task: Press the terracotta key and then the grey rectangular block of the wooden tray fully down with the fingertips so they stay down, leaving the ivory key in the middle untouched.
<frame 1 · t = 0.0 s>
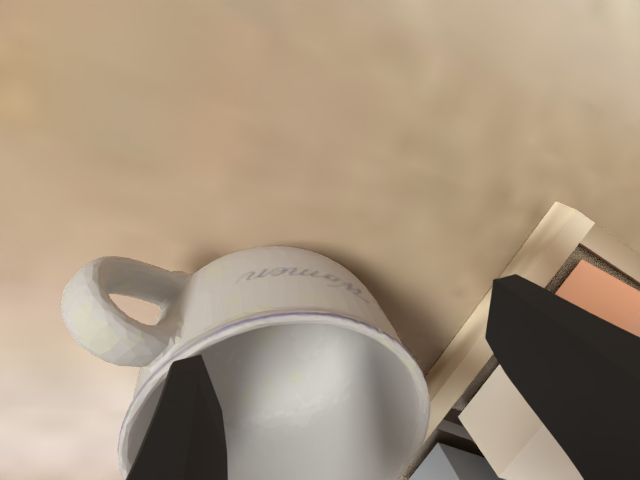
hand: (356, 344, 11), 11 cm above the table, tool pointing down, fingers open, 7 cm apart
teacup: (242, 300, 22), on the table
ivory key: (562, 436, 25), point 4 cm above the table, slide at 0.0 cm
wooden tray: (520, 390, 28), on the table
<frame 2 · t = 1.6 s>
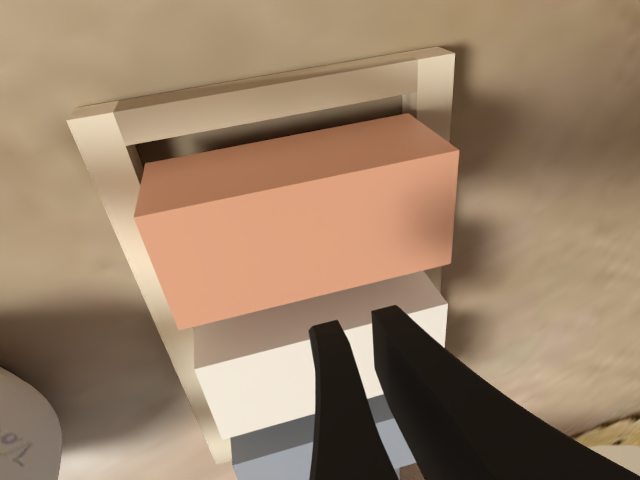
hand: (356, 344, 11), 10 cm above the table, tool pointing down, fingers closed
ivory key: (319, 339, 20), point 4 cm above the table, slide at 0.0 cm
terracotta key: (301, 214, 16), point 4 cm above the table, slide at 0.0 cm
grey rectangular block: (332, 425, 23), point 4 cm above the table, slide at 0.0 cm
wooden tray: (302, 287, 23), on the table
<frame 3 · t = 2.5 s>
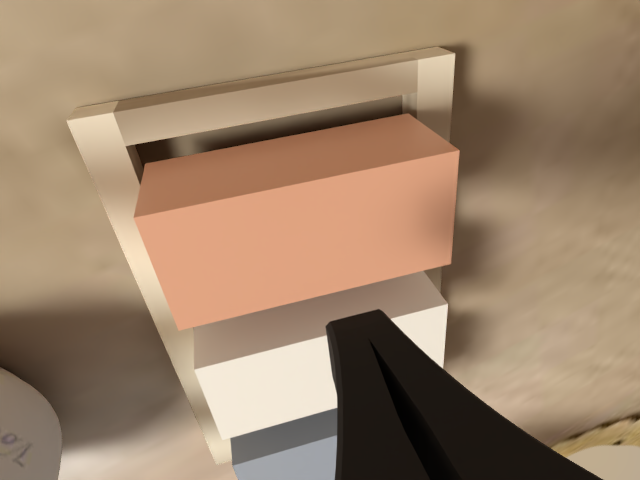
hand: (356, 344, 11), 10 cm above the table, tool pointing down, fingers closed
ivory key: (320, 339, 20), point 4 cm above the table, slide at 0.0 cm
terracotta key: (301, 214, 16), point 4 cm above the table, slide at 0.0 cm
grey rectangular block: (332, 425, 23), point 4 cm above the table, slide at 0.0 cm
wooden tray: (302, 287, 23), on the table
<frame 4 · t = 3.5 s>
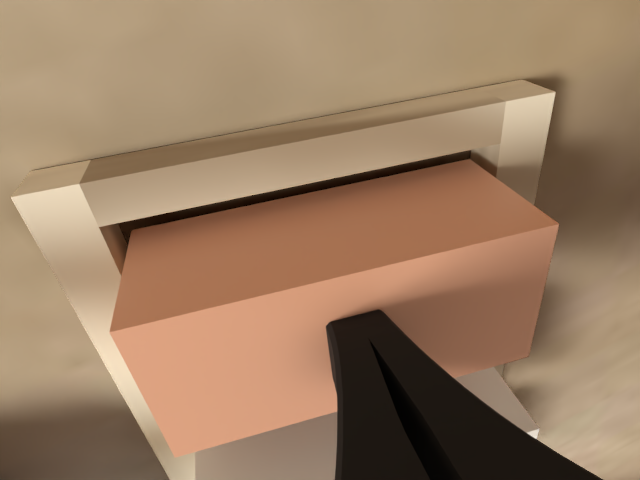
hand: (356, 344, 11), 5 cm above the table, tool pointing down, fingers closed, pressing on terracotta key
ivory key: (359, 457, 15), point 4 cm above the table, slide at 0.0 cm
terracotta key: (335, 295, 12), point 3 cm above the table, slide at 1.0 cm, touching gripper
wooden tray: (330, 371, 18), on the table
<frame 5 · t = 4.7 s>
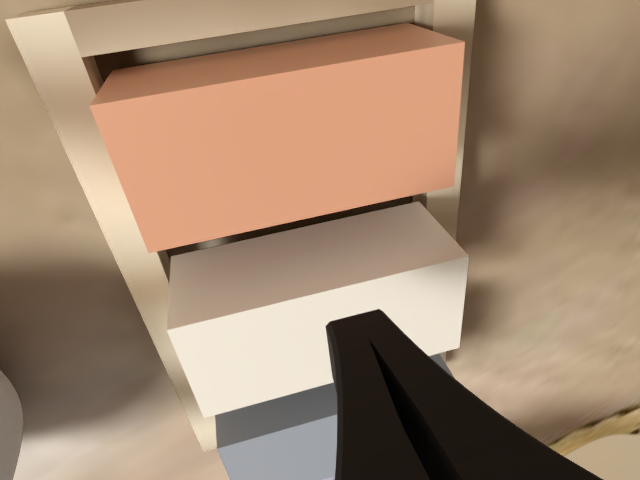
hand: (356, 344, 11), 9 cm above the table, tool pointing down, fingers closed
ivory key: (318, 302, 17), point 4 cm above the table, slide at 0.0 cm
terracotta key: (287, 129, 14), point 2 cm above the table, slide at 1.3 cm
grey rectangular block: (332, 405, 21), point 4 cm above the table, slide at 0.0 cm
wooden tray: (298, 248, 20), on the table
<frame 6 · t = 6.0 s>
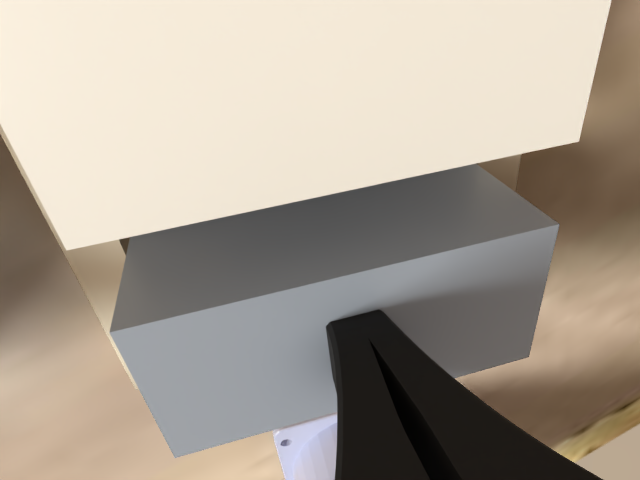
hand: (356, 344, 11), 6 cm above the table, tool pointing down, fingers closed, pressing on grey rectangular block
ivory key: (306, 46, 9), point 4 cm above the table, slide at 0.0 cm
grey rectangular block: (335, 295, 12), point 4 cm above the table, slide at 0.0 cm, touching gripper
wooden tray: (276, 22, 12), on the table
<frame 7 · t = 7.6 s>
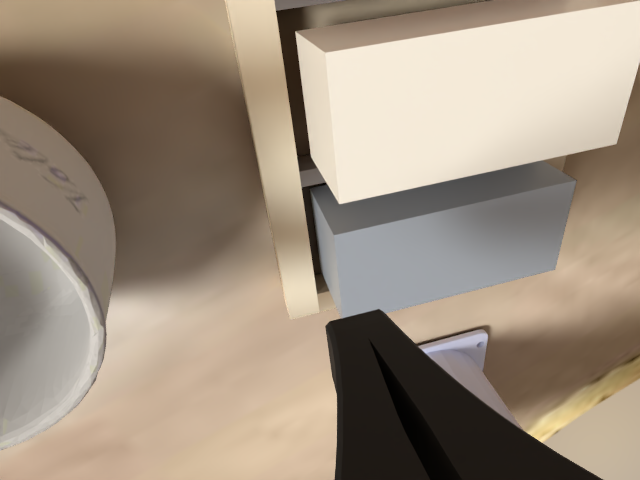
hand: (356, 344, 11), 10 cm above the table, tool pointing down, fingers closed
ivory key: (459, 88, 15), point 4 cm above the table, slide at 0.0 cm
grey rectangular block: (434, 229, 20), point 2 cm above the table, slide at 1.3 cm
wooden tray: (413, 66, 18), on the table
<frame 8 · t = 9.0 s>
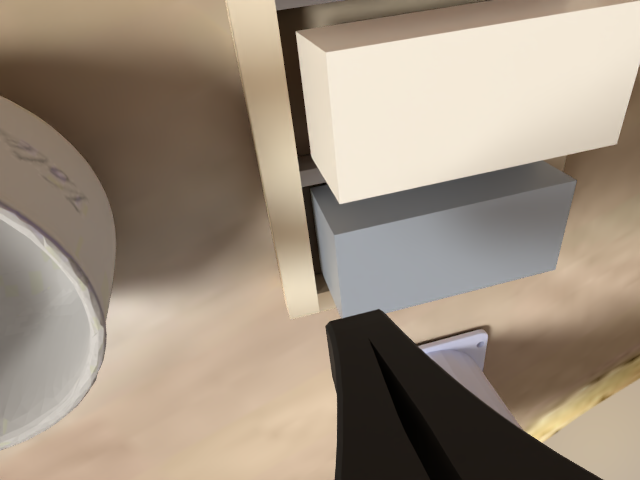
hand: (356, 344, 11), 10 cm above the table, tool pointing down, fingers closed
ivory key: (459, 88, 15), point 4 cm above the table, slide at 0.0 cm
grey rectangular block: (434, 229, 20), point 2 cm above the table, slide at 1.3 cm
wooden tray: (413, 66, 18), on the table
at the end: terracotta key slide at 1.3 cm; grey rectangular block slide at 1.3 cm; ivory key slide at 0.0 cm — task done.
